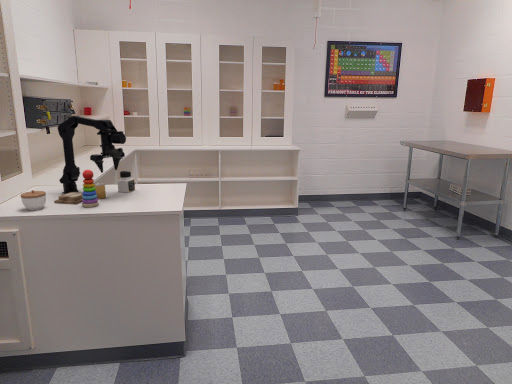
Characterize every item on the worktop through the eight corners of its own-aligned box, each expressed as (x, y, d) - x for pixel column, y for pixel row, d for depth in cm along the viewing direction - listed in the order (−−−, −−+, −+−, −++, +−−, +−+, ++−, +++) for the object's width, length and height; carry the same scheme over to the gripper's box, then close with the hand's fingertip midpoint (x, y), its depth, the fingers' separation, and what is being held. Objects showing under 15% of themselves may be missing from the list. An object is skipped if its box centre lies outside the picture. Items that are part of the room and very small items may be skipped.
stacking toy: (81, 208, 187) (77, 171, 182) (82, 204, 194) (78, 168, 189) (99, 206, 190) (95, 170, 185) (98, 202, 197) (95, 167, 192)
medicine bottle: (129, 192, 218) (127, 172, 215) (118, 192, 219) (116, 172, 216) (135, 189, 225) (133, 170, 222) (124, 189, 226) (122, 169, 223)
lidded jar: (48, 209, 185) (46, 191, 183) (23, 212, 179) (20, 193, 177) (46, 204, 194) (44, 186, 191) (22, 207, 188) (19, 189, 186)
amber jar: (93, 198, 205) (92, 184, 203) (99, 196, 210) (98, 182, 208) (102, 199, 204) (101, 185, 202) (107, 196, 209) (106, 182, 207)
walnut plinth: (54, 203, 196) (53, 196, 195) (70, 196, 208) (70, 191, 208) (76, 204, 194) (76, 198, 193) (91, 198, 206) (91, 192, 205)
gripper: (102, 146, 192) (104, 175, 196) (130, 142, 208) (132, 170, 212) (88, 144, 198) (90, 173, 202) (117, 141, 213) (119, 168, 217)
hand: (109, 171), depth 208 cm, fingers open, 9 cm apart
